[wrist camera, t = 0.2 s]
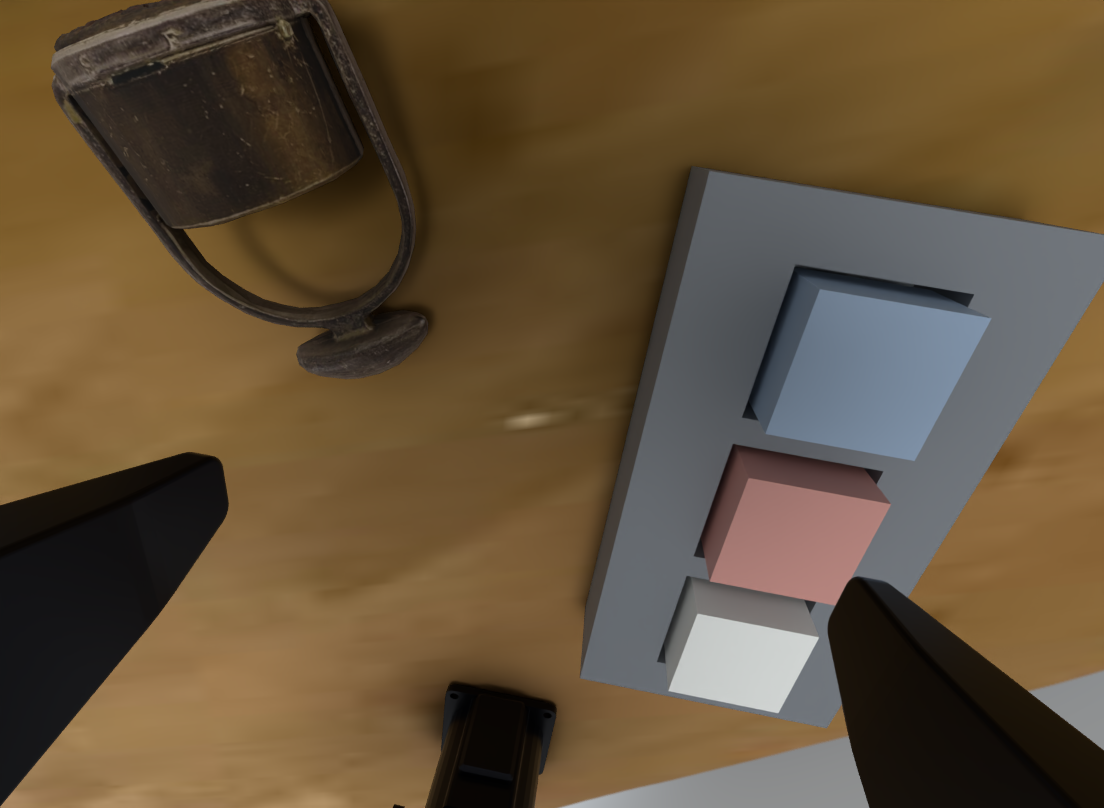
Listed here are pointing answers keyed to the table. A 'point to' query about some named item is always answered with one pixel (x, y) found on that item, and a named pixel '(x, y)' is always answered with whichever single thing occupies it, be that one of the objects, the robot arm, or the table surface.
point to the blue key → (862, 363)
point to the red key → (790, 524)
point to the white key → (737, 644)
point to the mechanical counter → (237, 144)
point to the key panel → (728, 418)
